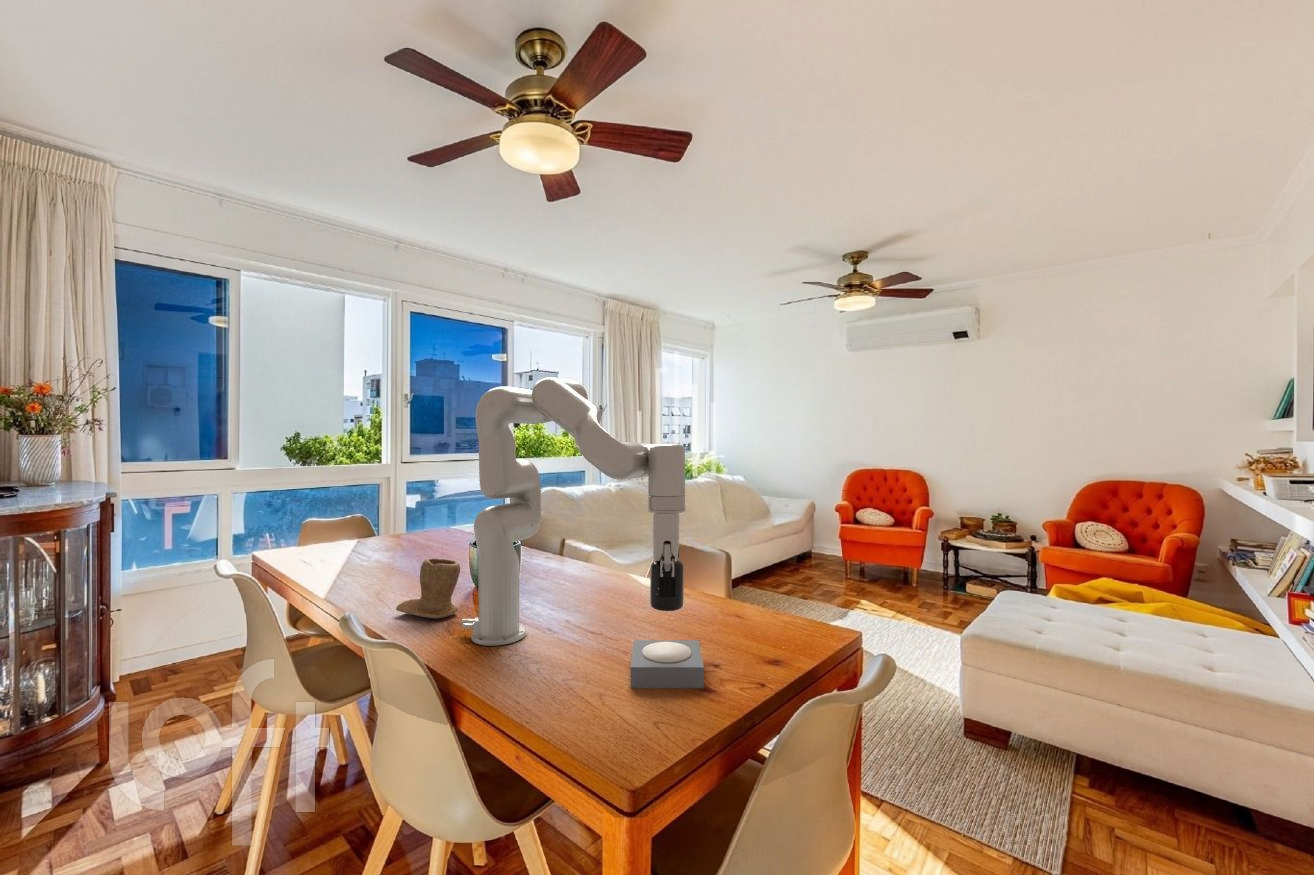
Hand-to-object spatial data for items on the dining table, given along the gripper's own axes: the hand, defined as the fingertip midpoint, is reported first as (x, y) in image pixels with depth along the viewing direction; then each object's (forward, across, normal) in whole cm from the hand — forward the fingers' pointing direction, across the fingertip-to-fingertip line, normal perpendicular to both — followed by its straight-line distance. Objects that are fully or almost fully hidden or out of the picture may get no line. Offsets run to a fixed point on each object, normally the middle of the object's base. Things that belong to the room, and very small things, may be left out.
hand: (667, 590), depth 111 cm
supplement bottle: (+3, 0, 0) cm, 3 cm away
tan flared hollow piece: (+17, -37, -63) cm, 75 cm away
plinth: (+17, 0, 0) cm, 17 cm away
